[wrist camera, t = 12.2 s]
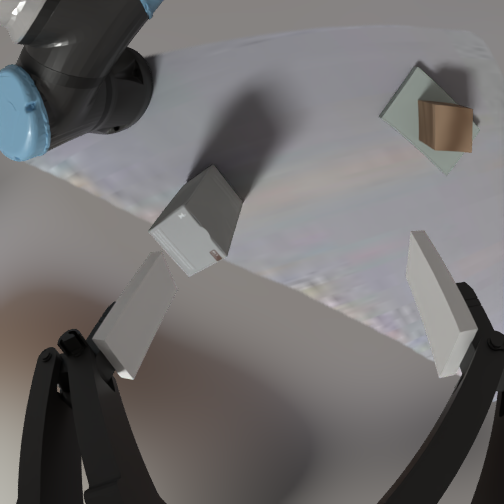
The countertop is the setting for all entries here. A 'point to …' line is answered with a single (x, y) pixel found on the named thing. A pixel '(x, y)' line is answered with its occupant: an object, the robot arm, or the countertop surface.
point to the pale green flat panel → (407, 121)
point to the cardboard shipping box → (445, 126)
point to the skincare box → (199, 222)
